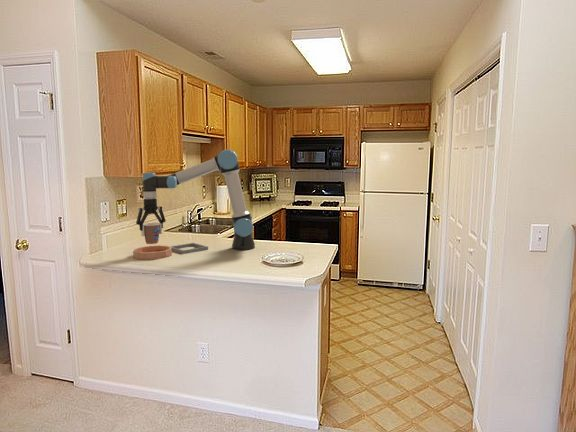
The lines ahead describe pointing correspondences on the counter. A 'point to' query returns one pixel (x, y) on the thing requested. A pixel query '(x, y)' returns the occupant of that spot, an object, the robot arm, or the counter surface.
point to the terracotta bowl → (152, 252)
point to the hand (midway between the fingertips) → (151, 234)
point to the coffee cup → (151, 232)
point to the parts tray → (200, 248)
